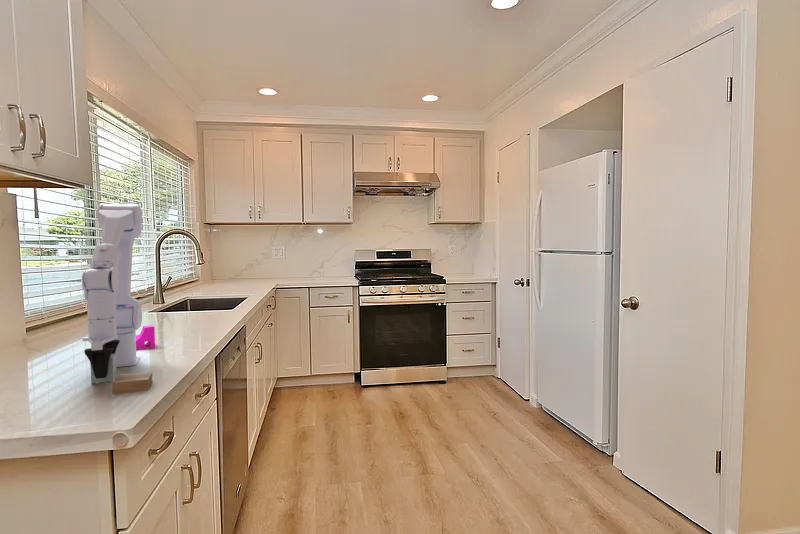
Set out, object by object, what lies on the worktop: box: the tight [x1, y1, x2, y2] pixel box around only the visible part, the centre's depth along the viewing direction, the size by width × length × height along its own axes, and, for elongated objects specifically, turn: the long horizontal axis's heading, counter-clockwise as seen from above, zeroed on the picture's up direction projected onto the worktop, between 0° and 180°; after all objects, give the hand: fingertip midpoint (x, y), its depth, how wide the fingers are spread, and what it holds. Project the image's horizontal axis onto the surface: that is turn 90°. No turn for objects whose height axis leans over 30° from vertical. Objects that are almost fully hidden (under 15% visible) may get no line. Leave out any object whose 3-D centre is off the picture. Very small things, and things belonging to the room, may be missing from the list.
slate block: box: [89, 354, 118, 384], centre depth 110 cm, size 4×4×6 cm
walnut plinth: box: [111, 371, 153, 395], centre depth 104 cm, size 7×7×3 cm
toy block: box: [136, 324, 156, 351], centre depth 142 cm, size 15×6×8 cm, turn 128°
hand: (104, 374), depth 110 cm, fingers open, 6 cm apart
